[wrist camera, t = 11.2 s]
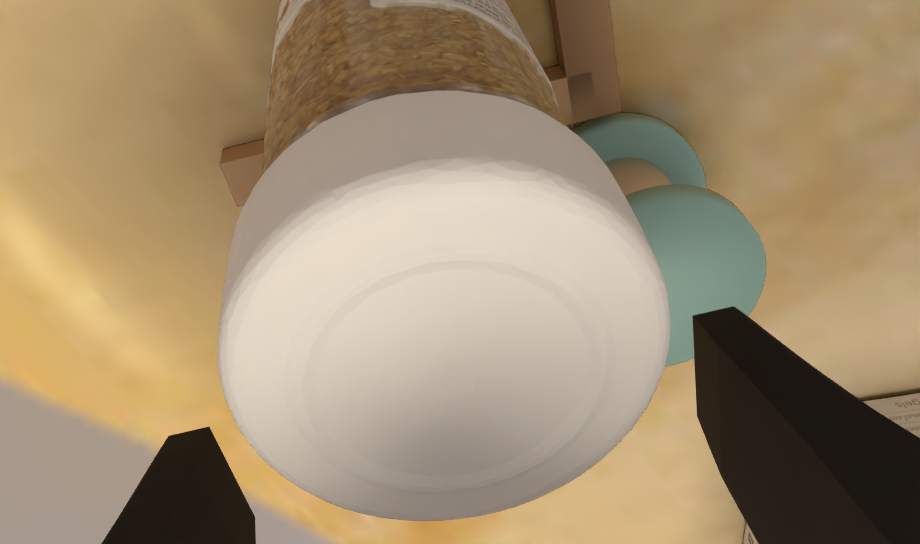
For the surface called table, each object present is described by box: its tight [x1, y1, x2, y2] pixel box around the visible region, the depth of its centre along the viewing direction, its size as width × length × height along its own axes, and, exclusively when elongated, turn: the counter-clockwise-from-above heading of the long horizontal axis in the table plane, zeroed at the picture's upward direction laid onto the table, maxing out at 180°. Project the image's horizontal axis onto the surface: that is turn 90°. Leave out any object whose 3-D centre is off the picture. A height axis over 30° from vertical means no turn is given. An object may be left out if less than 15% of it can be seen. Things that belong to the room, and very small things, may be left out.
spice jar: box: [217, 0, 671, 521], centre depth 14 cm, size 5×5×14 cm
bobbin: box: [571, 113, 766, 367], centre depth 21 cm, size 5×5×4 cm
